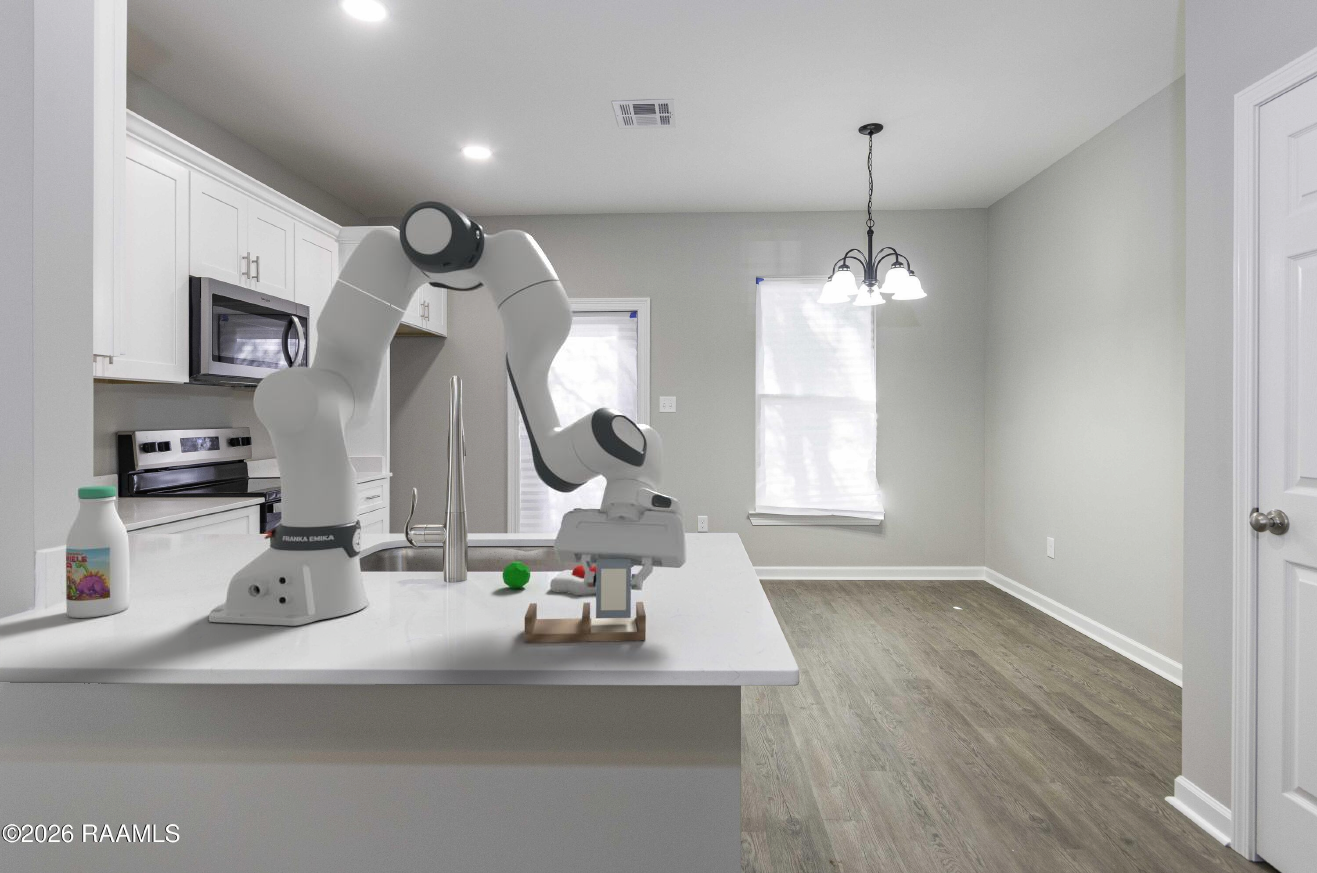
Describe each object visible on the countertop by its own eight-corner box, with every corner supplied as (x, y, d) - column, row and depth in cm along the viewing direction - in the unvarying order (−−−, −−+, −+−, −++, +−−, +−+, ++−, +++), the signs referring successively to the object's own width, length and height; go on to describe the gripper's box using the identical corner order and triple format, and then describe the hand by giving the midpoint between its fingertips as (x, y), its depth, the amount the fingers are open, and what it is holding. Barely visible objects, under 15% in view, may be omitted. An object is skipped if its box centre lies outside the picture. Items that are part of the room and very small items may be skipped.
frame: (595, 618, 96) (596, 563, 96) (596, 612, 99) (596, 558, 99) (630, 618, 96) (631, 563, 96) (629, 611, 100) (630, 558, 99)
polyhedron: (524, 592, 121) (524, 565, 120) (498, 591, 121) (498, 564, 121) (533, 585, 126) (533, 560, 125) (508, 584, 126) (508, 559, 126)
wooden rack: (524, 642, 93) (524, 617, 93) (529, 627, 100) (530, 603, 100) (645, 640, 95) (645, 615, 95) (642, 625, 102) (642, 601, 102)
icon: (545, 572, 119) (561, 560, 129) (545, 596, 119) (561, 583, 129) (612, 575, 117) (623, 563, 127) (612, 600, 117) (623, 585, 127)
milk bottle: (104, 603, 111) (102, 483, 110) (142, 607, 109) (140, 485, 109) (53, 617, 103) (51, 488, 103) (93, 621, 102) (91, 490, 101)
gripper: (561, 496, 106) (539, 571, 97) (688, 500, 102) (678, 578, 93) (569, 520, 111) (549, 593, 101) (692, 524, 107) (682, 601, 98)
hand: (612, 586), depth 97 cm, fingers closed on frame, 6 cm apart
